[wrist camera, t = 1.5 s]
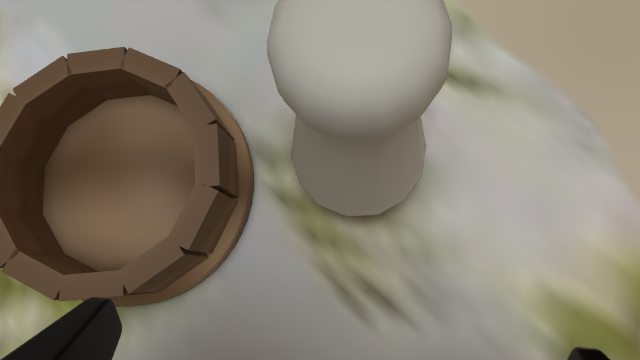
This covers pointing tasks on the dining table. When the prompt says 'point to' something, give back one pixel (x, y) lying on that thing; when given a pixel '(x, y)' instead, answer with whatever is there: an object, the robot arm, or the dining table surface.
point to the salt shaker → (359, 94)
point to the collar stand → (118, 179)
